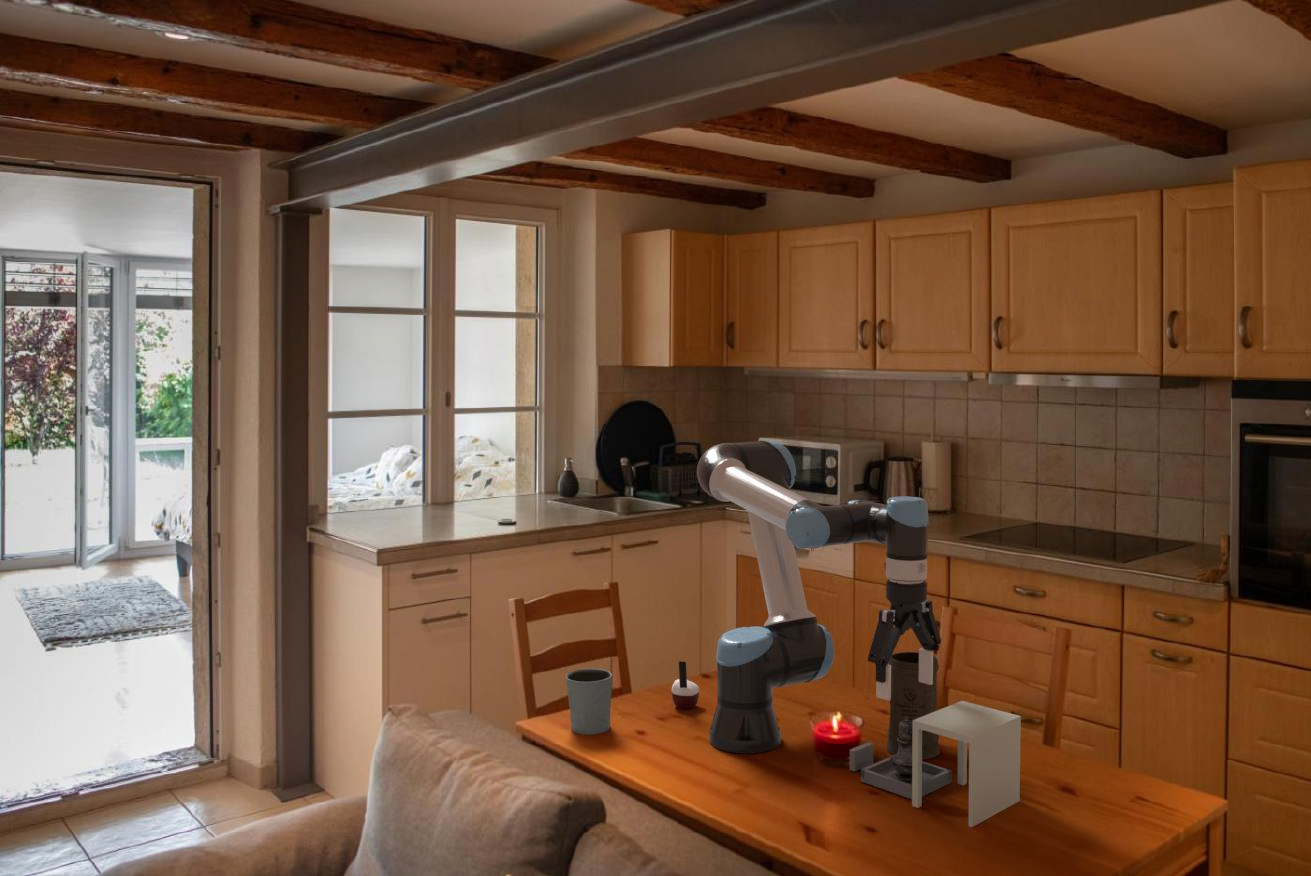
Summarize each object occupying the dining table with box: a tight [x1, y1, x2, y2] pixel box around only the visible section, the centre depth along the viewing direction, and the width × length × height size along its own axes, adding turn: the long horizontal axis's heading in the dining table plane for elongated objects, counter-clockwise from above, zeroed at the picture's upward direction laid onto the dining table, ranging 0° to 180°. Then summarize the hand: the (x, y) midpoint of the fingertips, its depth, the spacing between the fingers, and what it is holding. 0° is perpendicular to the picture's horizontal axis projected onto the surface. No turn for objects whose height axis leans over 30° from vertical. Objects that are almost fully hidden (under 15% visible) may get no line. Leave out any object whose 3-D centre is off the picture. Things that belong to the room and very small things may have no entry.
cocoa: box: [671, 660, 700, 710], centre depth 242 cm, size 10×6×12 cm, turn 149°
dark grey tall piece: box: [890, 716, 913, 783], centre depth 197 cm, size 6×6×12 cm
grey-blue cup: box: [565, 668, 613, 736], centre depth 229 cm, size 10×10×12 cm
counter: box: [911, 700, 1022, 828], centre depth 187 cm, size 12×16×16 cm
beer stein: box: [885, 651, 941, 760], centre depth 215 cm, size 15×11×20 cm
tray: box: [849, 741, 952, 800], centre depth 199 cm, size 17×12×4 cm
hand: (904, 690), depth 196 cm, fingers open, 13 cm apart
